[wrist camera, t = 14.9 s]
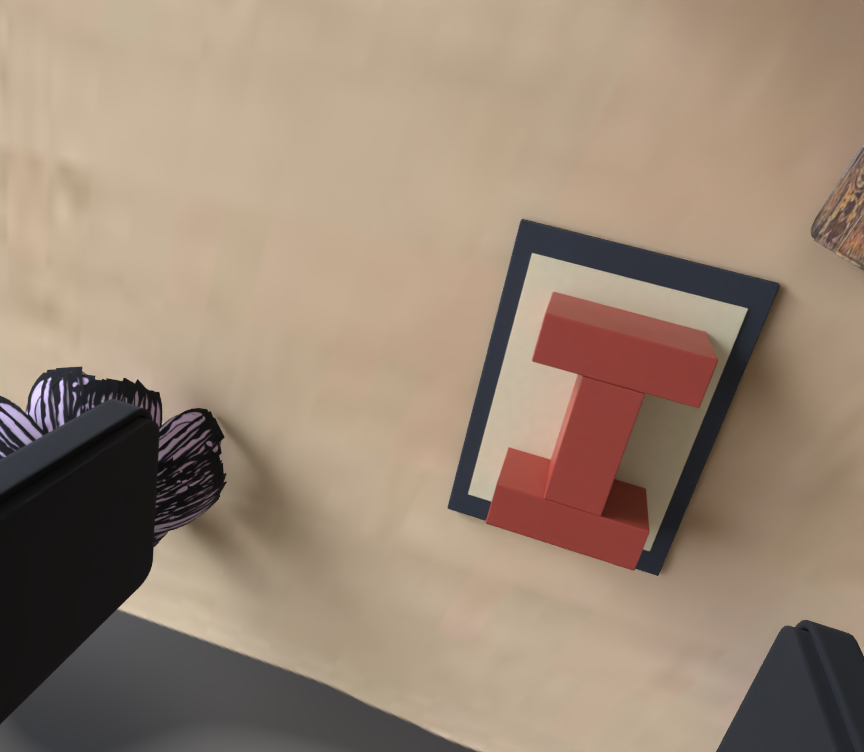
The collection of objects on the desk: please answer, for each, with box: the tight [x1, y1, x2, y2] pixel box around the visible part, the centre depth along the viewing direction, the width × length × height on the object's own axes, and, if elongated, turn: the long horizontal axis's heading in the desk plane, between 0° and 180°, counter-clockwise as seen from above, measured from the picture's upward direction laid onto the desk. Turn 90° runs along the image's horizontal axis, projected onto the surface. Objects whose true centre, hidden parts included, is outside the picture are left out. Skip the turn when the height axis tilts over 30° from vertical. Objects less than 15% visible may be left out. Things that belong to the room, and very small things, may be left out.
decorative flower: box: [0, 367, 226, 547], centre depth 43 cm, size 14×12×15 cm
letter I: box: [486, 292, 718, 570], centre depth 36 cm, size 8×12×4 cm, turn 168°
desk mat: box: [448, 219, 780, 576], centre depth 38 cm, size 13×18×1 cm
